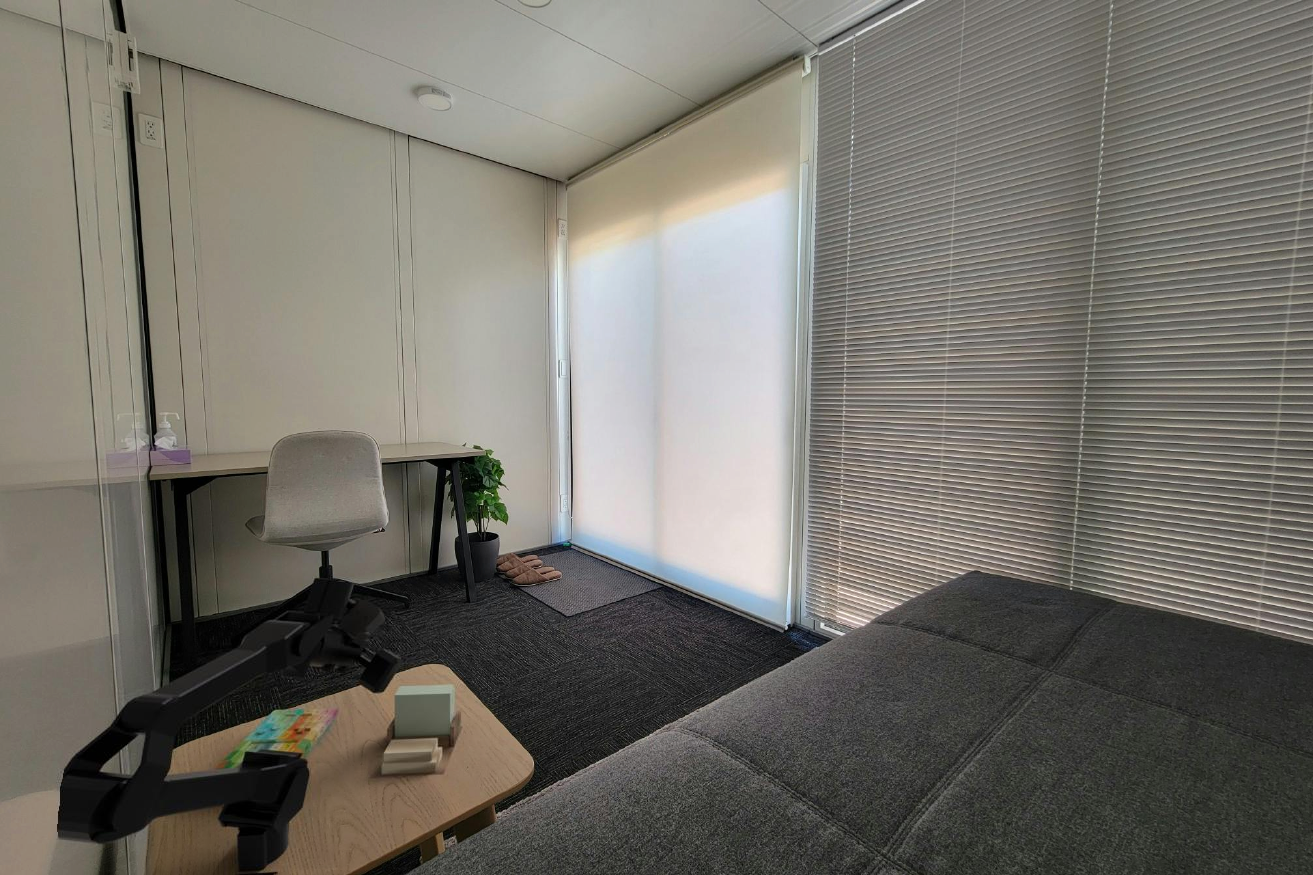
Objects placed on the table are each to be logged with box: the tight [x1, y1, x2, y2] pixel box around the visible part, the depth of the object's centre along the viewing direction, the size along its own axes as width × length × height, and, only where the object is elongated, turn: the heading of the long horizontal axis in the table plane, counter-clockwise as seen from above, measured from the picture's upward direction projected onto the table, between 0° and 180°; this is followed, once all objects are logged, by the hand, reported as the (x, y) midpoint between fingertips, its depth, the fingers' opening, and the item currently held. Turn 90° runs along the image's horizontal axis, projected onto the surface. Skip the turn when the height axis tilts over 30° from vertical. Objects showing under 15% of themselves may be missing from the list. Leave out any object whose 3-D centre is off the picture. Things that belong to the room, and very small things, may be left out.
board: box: [394, 684, 455, 737], centre depth 100 cm, size 3×10×10 cm, turn 97°
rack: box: [371, 710, 463, 778], centre depth 98 cm, size 13×12×5 cm
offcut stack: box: [382, 738, 442, 775], centre depth 94 cm, size 4×9×4 cm, turn 97°
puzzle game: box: [213, 708, 339, 770], centre depth 95 cm, size 12×5×20 cm
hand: (374, 655), depth 100 cm, fingers open, 9 cm apart
